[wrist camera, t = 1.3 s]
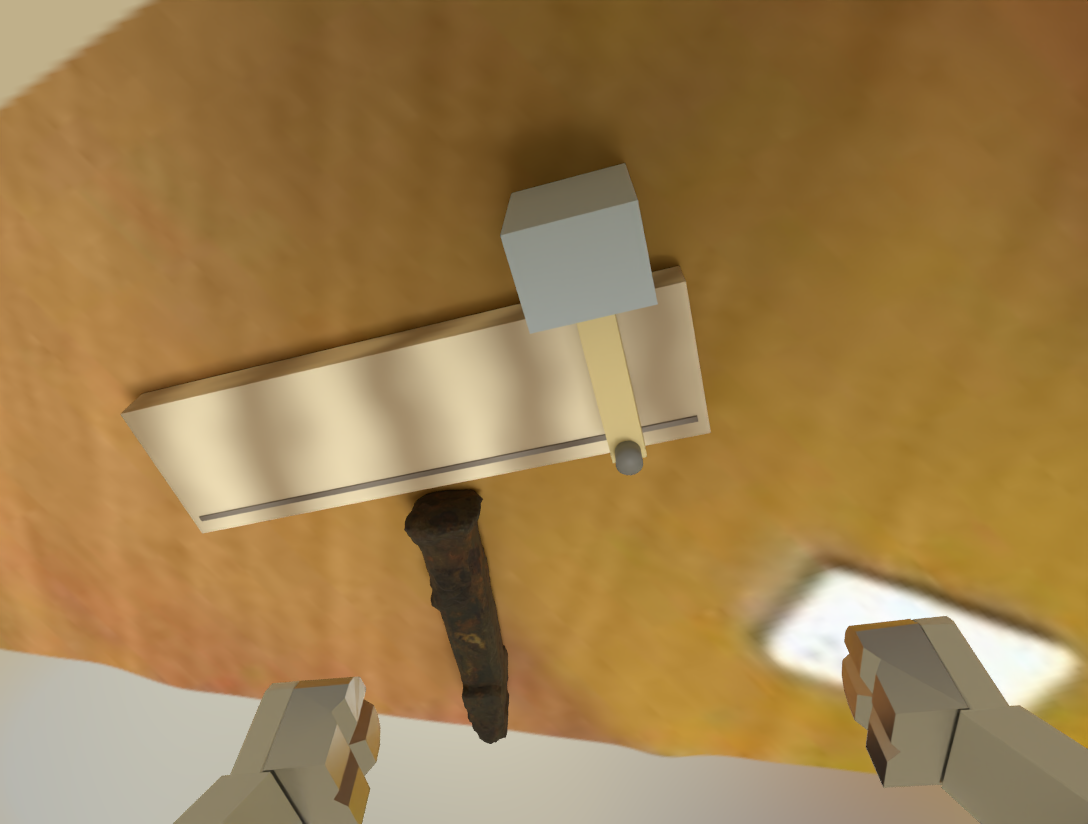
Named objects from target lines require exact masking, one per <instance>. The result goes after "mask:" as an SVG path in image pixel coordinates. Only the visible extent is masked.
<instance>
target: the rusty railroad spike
mask: <svg viewBox="0 0 1088 824" xmlns="http://www.w3.org/2000/svg"><path fill="white" fill-rule="evenodd" d="M482 500H483V499H482V498H481V497H480V496H479V495H478V494H477V493H476V492H475V491H474V490H446V491H438V492H434V493H431V494H427V495H425V496H423V497H421V498H420V499H418V500H417V501H416V502H415V504H414V507H413V509H412V511H411V512H410V514H409V515H408V516H407V518H406V521H405V529H404V530H405V531H406V532H407V534H408V536H409V537H411V539H412V541H413V542H414V543H415V544H417V545H418V546H419V548H420V550H421V551H422V553H423V556H424V560H425V563H426V568H427V570H428V572H429V575H430V586H431V587H432V595H431V603H432V606H433V607H435V608H437V609H438V610H439V611H440V612H441V615H442V619H443V621H444V624H445V628H446V631H447V635H448V638H449V641H450V643H451V647H452V650H453V653H454V656H455V659H456V662H457V665H458V668H459V671H460V674H461V680H462V682H463V693H462V699H463V702H464V707H465V708H466V709H467V712H468V719H469V721H470V722H472V727H473V729H474V731H476V732H477V733H478V735H479V738H480V739H481V740H483V741H484V742H486V743H489V744H492V743H493V742H497V741H498V740H499V739H501V738H505V737H506V735H507V725H508V705H509V693H508V691H507V681H508V653H507V650H506V648H505V646H504V645H502V639H501V633H500V627H499V623H498V618H497V610H496V605H495V602H494V599H493V596H492V590H491V586H490V577H489V569H488V563H487V558H486V556H485V554H484V548H483V546H482V544H481V540H480V534H479V531H478V525H477V521H478V518H479V515H480V510H481V502H482Z"/></svg>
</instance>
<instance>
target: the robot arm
mask: <svg viewBox="0 0 1088 824" xmlns="http://www.w3.org/2000/svg"><path fill="white" fill-rule="evenodd" d="M844 642H845V644H846V647H847V649H848V651H849V653H850V654H849V655H847V656H846V657H845V658H844V659H843V661H842V679H843V686H844V692H845V695H846V698H847V702H848V705H849V707H850V710H851V712H852V715H853V717H854V720H855V721H856V722H858V723H859V724H860V725H862V726H863V727H864V728H865V729H867V730H868V733H867V741H866V748H867V751H868V753H869V755H870V758H871V760H872V762H873V764H874V767H875V769H876V771H877V774H878V776H879V778H880V781H881V783H882V785H883V787H884V788H887V787H905V786H924V785H942V789H944V790H945V791H946V792H947V793H948V794H949V795H950V796H951V797H952V798H953V799H955V801H957V802H958V803H959V804H960V805H961V806H962V807H963V808H964V809H965V810H966V811H968V812H969V813H970V814H971V815H972V816H973V817H974V818H975V819H976V820H977V821H978V822H979V823H981V824H1088V749H1087V748H1085V747H1084V746H1082V745H1080V744H1079V743H1077V742H1076V741H1074V740H1073V739H1071V738H1070V737H1068V736H1066V735H1065V734H1063V733H1062V732H1060V731H1059V730H1057V729H1056V728H1054V727H1053V726H1051V725H1049V724H1048V723H1046V722H1045V721H1043V720H1042V719H1040V718H1039V717H1037V716H1035V715H1034V714H1032V713H1031V712H1029V711H1028V710H1026V709H1025V708H1023V707H1021V706H1020V705H1019V706H1009V705H1008V703H1007V702H1006V700H1005V699H1004V697H1003V696H1002V694H1001V693H1000V691H999V690H998V688H997V686H996V685H995V683H994V682H993V680H992V679H991V677H990V676H989V674H988V673H987V671H986V670H985V668H984V667H983V665H982V664H981V662H980V661H979V659H978V658H977V656H976V655H975V653H974V652H973V650H972V648H971V647H970V645H969V644H968V642H967V641H966V639H965V638H964V636H963V635H962V633H961V632H960V630H959V629H958V627H957V626H956V624H955V623H954V621H953V620H951V619H950V618H949V617H947V616H942V617H932V618H923V619H914V620H911V619H906V620H897V621H889V622H880V623H871V624H862V625H854V626H849V627H848V628H847V630H846V632H845V640H844ZM365 692H366V687H365V685H364V684H363V682H362V680H361V678H360V677H347V678H333V679H319V680H305V681H294V682H282V683H272V685H271V686H270V687H269V688H268V689H267V690H266V691H265V693H264V695H263V697H262V700H261V702H260V705H259V707H258V710H257V712H256V714H255V717H254V719H253V721H252V724H251V726H250V729H249V731H248V733H247V736H246V738H245V741H244V743H243V746H242V748H241V750H240V753H239V755H238V757H237V760H236V762H235V765H234V767H233V769H232V772H231V774H230V775H225V776H221V777H220V778H219V779H218V780H217V781H216V782H215V783H214V784H213V785H212V786H211V787H210V788H209V789H208V790H207V791H206V792H205V793H204V794H203V795H202V796H201V797H200V798H199V799H198V800H197V801H196V802H195V803H194V804H193V805H192V806H190V807H189V808H188V809H187V810H186V811H185V812H184V813H183V814H182V815H181V816H180V817H179V818H178V819H177V820H176V821H175V822H174V823H173V824H362V822H363V817H364V813H365V809H366V804H367V800H368V796H369V792H370V787H369V785H368V783H367V781H366V779H365V777H364V776H365V775H366V774H367V772H368V771H369V770H370V769H371V768H372V767H373V766H374V764H375V763H376V761H377V756H378V752H379V747H380V723H379V718H378V714H377V712H376V709H375V707H374V705H372V704H371V703H369V702H367V701H366V700H364V696H365Z"/></svg>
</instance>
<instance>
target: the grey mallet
mask: <svg viewBox="0 0 1088 824" xmlns="http://www.w3.org/2000/svg"><path fill="white" fill-rule="evenodd" d="M500 236H501V240H502V243H503V246H504V250H505V253H506V256H507V260H508V263H509V266H510V269H511V273H512V276H513V279H514V283H515V286H516V289H517V293H518V296H519V299H520V303H521V306H522V309H523V312H524V316H525V319H526V322H527V326H528V329H529V332H530V334H531V333H536V332H540V331H544V330H549V329H553V328H557V327H562V326H566V325H570V324H575V323H576V324H577V328H578V332H579V335H580V339H581V343H582V347H583V351H584V355H585V358H586V362H587V366H588V370H589V374H590V378H591V381H592V385H593V389H594V393H595V397H596V401H597V404H598V408H599V412H600V416H601V420H602V424H603V427H604V431H605V435H606V439H607V443H608V447H609V450H610V454H611V458H612V462H613V463H616V467H617V470H618V471H619V472H620V473H622V474H625V475H633V474H636V473H638V472H639V471H640V470H641V469H642V467H643V459H642V458H643V457H647V453H646V448H645V442H644V436H643V432H642V428H641V423H640V419H639V414H638V410H637V406H636V401H635V397H634V392H633V388H632V384H631V379H630V375H629V370H628V366H627V361H626V357H625V353H624V348H623V344H622V339H621V335H620V331H619V326H618V322H617V317H616V314H618V313H622V312H627V311H631V310H635V309H640V308H644V307H648V306H653V305H657V304H658V303H657V298H656V293H655V287H654V282H653V277H652V272H651V266H650V261H649V256H648V251H647V245H646V240H645V235H644V230H643V225H642V219H641V214H640V209H639V204H638V199H637V196H636V193H635V190H634V187H633V185H632V182H631V179H630V176H629V173H628V170H627V167H626V164H625V163H623V164H619V165H616V166H612V167H608V168H604V169H601V170H597V171H593V172H589V173H586V174H582V175H578V176H574V177H570V178H567V179H563V180H559V181H555V182H552V183H548V184H544V185H540V186H537V187H533V188H529V189H525V190H522V191H518V192H514V193H511V197H510V201H509V204H508V208H507V212H506V216H505V219H504V223H503V227H502V231H501V234H500Z"/></svg>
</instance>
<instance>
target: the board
mask: <svg viewBox="0 0 1088 824" xmlns="http://www.w3.org/2000/svg"><path fill="white" fill-rule="evenodd" d="M652 277H653V282H654V287H655V293H656V298H657V303H658V304H657V305H653V306H648V307H644V308H640V309H635V310H631V311H627V312H622V313H618V314H616V317H617V322H618V326H619V331H620V335H621V339H622V344H623V348H624V353H625V357H626V361H627V366H628V370H629V375H630V379H631V384H632V388H633V392H634V397H635V401H636V406H637V410H638V414H639V419H640V423H641V428H642V432H643V436H644V442H645V446H646V445H651V444H656V443H661V442H666V441H671V440H676V439H681V438H686V437H691V436H696V435H701V434H707V433H711V431H710V425H709V419H708V413H707V407H706V401H705V395H704V389H703V382H702V376H701V370H700V364H699V358H698V352H697V346H696V340H695V334H694V328H693V322H692V316H691V310H690V304H689V298H688V292H687V286H686V281H685V278H684V276H683V273H682V271H681V269H680V266H676V267H672V268H667V269H663V270H659V271H655V272H652ZM121 416H122V417H123V419H124V420H125V422H126V423H127V425H128V426H129V428H130V429H131V430H132V432H133V433H134V435H135V436H136V438H137V439H138V441H139V442H140V444H141V445H142V446H143V448H144V449H145V451H146V452H147V454H148V455H149V457H150V458H151V459H152V461H153V462H154V464H155V465H156V467H157V468H158V470H159V471H160V473H161V474H162V475H163V477H164V478H165V480H166V481H167V483H168V484H169V486H170V487H171V489H172V490H173V491H174V493H175V494H176V496H177V497H178V499H179V500H180V502H181V503H182V505H183V506H184V507H185V509H186V510H187V512H188V513H189V515H190V516H191V518H192V519H193V520H194V522H195V523H196V525H197V526H198V528H199V529H200V531H201V532H202V533H207V532H212V531H217V530H222V529H227V528H232V527H237V526H242V525H247V524H252V523H257V522H262V521H268V520H273V519H278V518H283V517H288V516H293V515H298V514H303V513H308V512H313V511H318V510H323V509H328V508H333V507H338V506H343V505H348V504H353V503H358V502H363V501H368V500H373V499H379V498H384V497H389V496H394V495H399V494H404V493H409V492H414V491H419V490H424V489H429V488H434V487H439V486H444V485H449V484H454V483H459V482H464V481H469V480H474V479H479V478H484V477H490V476H495V475H500V474H505V473H510V472H515V471H520V470H525V469H530V468H535V467H540V466H545V465H550V464H555V463H560V462H565V461H570V460H575V459H580V458H585V457H590V456H596V455H601V454H606V453H610V450H609V447H608V443H607V439H606V435H605V431H604V427H603V424H602V420H601V416H600V412H599V408H598V404H597V401H596V397H595V393H594V389H593V385H592V381H591V378H590V374H589V370H588V366H587V362H586V358H585V355H584V351H583V347H582V343H581V339H580V335H579V332H578V328H577V324H576V323H575V324H570V325H566V326H562V327H557V328H553V329H549V330H544V331H540V332H536V333H531V334H530V332H529V329H528V326H527V322H526V319H525V316H524V312H523V309H522V306H521V304H516V305H512V306H508V307H504V308H500V309H495V310H491V311H487V312H483V313H479V314H474V315H470V316H466V317H462V318H458V319H454V320H449V321H445V322H441V323H437V324H433V325H428V326H424V327H420V328H416V329H412V330H407V331H403V332H399V333H395V334H391V335H386V336H382V337H378V338H374V339H370V340H365V341H361V342H357V343H353V344H349V345H344V346H340V347H336V348H332V349H328V350H324V351H319V352H315V353H311V354H307V355H303V356H298V357H294V358H290V359H286V360H282V361H277V362H273V363H269V364H265V365H261V366H256V367H252V368H248V369H244V370H240V371H235V372H231V373H227V374H223V375H219V376H214V377H210V378H206V379H202V380H198V381H194V382H189V383H185V384H181V385H177V386H173V387H168V388H164V389H160V390H156V391H152V392H147V393H143V394H141V395H140V396H139V397H138V398H137V399H136V400H135V401H134V402H133V403H132V404H130V405H129V406H128V407H127V408H126V409H125V410H124V411H123V412H122V413H121Z"/></svg>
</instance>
